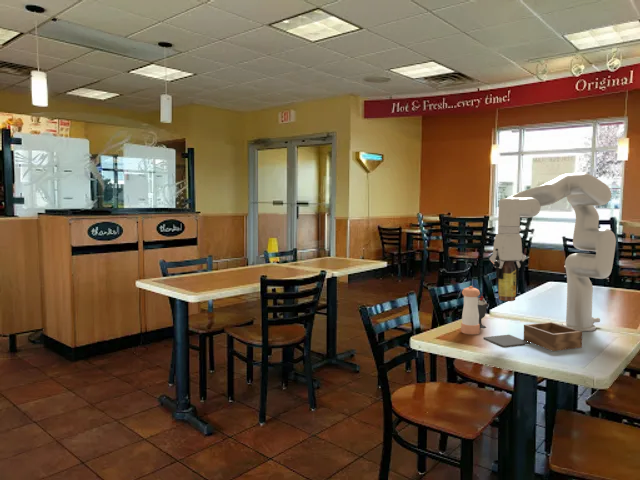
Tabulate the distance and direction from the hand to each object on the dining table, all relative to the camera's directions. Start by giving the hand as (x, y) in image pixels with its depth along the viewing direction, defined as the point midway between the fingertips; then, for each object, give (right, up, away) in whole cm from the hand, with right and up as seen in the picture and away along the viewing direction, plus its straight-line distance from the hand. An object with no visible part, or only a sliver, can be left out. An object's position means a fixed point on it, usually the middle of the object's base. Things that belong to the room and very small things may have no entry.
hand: (507, 277), depth 182 cm
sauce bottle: (0, -9, +1) cm, 9 cm away
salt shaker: (-9, -24, +16) cm, 30 cm away
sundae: (-2, -23, +24) cm, 34 cm away
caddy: (+16, -25, -1) cm, 30 cm away
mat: (+1, -25, +2) cm, 25 cm away
